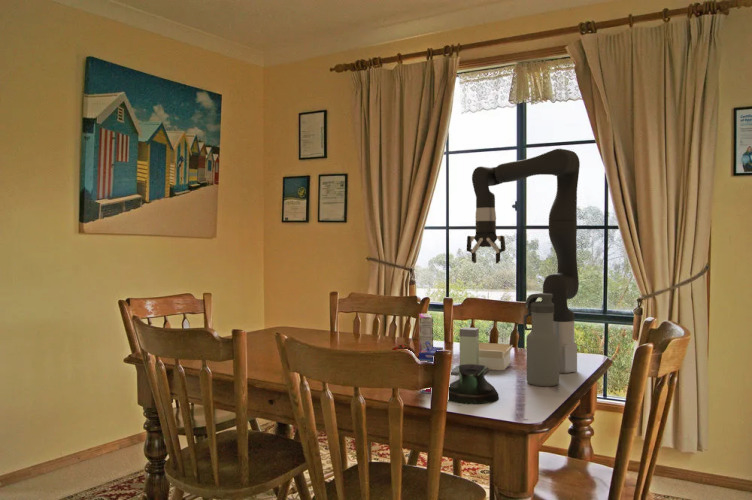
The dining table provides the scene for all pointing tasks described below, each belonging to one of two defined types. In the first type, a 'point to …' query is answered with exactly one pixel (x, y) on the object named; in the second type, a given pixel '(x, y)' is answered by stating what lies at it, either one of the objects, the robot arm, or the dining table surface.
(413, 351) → the dragon fruit
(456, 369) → the felt mat
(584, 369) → the dining table surface
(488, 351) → the cream storage bin
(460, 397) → the dark green flared pedestal
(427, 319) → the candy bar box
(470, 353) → the sage box
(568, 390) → the dining table surface
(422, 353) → the ink cartridge box
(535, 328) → the water bottle
